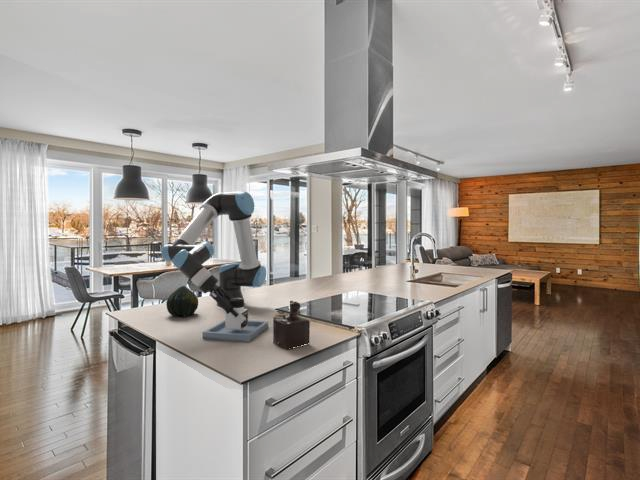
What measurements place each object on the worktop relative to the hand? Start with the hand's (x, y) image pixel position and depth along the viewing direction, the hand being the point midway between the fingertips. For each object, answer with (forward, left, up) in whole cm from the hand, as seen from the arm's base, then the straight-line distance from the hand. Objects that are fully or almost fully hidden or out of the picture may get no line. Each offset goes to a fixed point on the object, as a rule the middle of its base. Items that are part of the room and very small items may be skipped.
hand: (244, 317), depth 153 cm
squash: (-21, -43, -6) cm, 48 cm away
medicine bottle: (+1, -3, -4) cm, 5 cm away
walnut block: (-12, +12, -6) cm, 18 cm away
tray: (+1, -3, -6) cm, 7 cm away
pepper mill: (+11, +25, -6) cm, 28 cm away
